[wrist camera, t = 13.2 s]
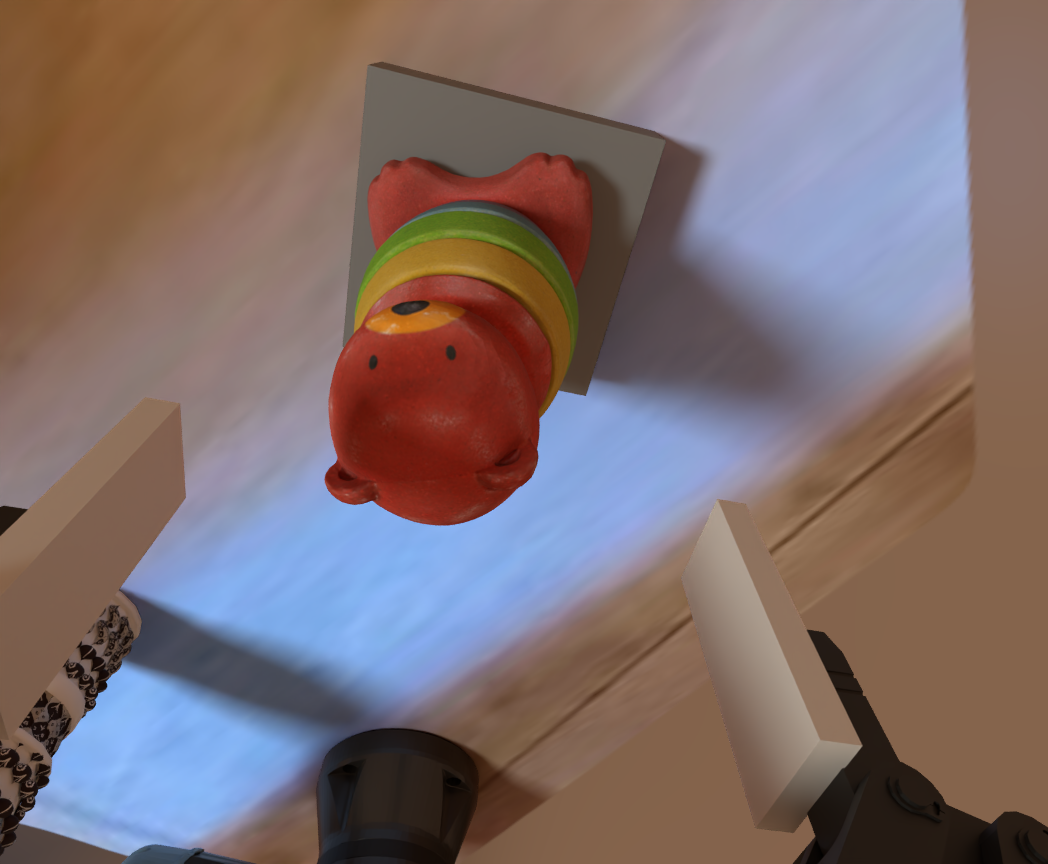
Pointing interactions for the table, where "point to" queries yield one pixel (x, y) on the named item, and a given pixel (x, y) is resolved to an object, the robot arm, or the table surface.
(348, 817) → the robot arm
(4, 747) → the decorative candle
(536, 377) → the stacking bear
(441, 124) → the gray block
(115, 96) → the table surface
